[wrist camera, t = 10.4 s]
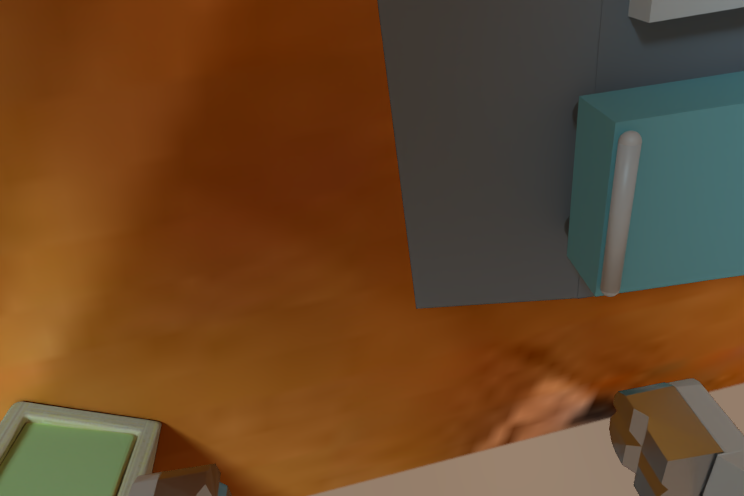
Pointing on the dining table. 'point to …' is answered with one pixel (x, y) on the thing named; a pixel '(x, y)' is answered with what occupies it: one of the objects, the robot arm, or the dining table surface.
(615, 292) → the teal handled box
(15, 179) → the dining table surface
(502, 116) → the loading dock
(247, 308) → the dining table surface
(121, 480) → the toy refrigerator
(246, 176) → the dining table surface
